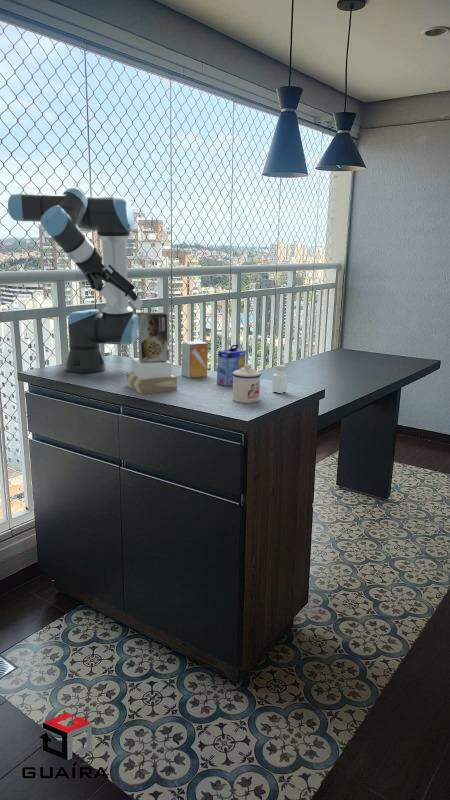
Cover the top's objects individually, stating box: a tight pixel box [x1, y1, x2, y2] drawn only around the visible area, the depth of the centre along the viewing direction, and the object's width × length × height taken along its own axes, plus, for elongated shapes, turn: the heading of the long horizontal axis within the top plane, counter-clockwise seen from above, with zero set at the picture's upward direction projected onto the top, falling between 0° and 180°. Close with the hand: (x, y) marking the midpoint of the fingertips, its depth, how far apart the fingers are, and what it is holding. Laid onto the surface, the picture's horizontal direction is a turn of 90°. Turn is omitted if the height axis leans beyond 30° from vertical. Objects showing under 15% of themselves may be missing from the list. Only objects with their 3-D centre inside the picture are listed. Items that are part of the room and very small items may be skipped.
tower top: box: [131, 357, 172, 379], centre depth 193 cm, size 11×11×5 cm
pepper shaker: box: [271, 364, 288, 394], centre depth 191 cm, size 4×4×10 cm
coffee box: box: [137, 312, 168, 362], centre depth 189 cm, size 9×6×16 cm
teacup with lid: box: [232, 363, 262, 404], centre depth 181 cm, size 12×9×12 cm
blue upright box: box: [216, 344, 247, 387], centre depth 202 cm, size 10×6×14 cm, turn 137°
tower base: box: [126, 371, 178, 395], centre depth 193 cm, size 13×13×5 cm
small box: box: [181, 340, 209, 379], centre depth 213 cm, size 8×6×13 cm
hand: (127, 304), depth 178 cm, fingers open, 13 cm apart
